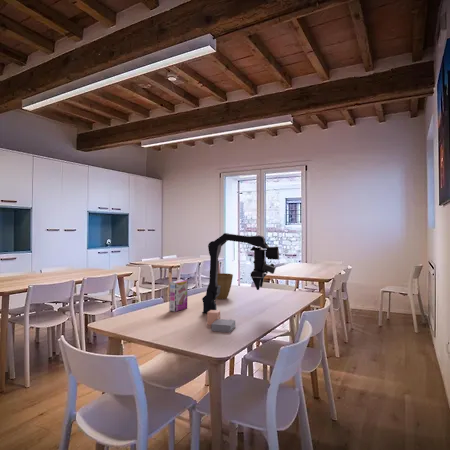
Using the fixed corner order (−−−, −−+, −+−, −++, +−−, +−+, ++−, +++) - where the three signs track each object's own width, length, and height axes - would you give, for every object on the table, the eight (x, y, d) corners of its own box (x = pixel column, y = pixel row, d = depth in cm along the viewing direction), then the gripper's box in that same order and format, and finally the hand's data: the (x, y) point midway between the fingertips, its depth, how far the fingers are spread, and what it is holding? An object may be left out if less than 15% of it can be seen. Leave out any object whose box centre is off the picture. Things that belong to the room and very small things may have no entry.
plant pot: (232, 300, 214) (232, 275, 215) (210, 300, 215) (210, 275, 215) (232, 296, 229) (232, 272, 229) (211, 296, 230) (211, 272, 230)
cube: (207, 324, 161) (207, 312, 161) (210, 321, 166) (210, 309, 166) (217, 325, 159) (217, 312, 160) (220, 322, 164) (220, 310, 164)
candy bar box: (175, 312, 184) (175, 282, 185) (168, 311, 187) (168, 282, 187) (188, 308, 194) (188, 280, 194) (181, 307, 196) (181, 279, 197)
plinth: (211, 330, 151) (211, 324, 151) (217, 325, 159) (217, 318, 160) (230, 332, 148) (230, 325, 148) (235, 326, 157) (235, 320, 157)
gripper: (272, 261, 166) (272, 292, 165) (276, 258, 184) (276, 286, 183) (250, 260, 169) (250, 291, 169) (256, 257, 187) (257, 285, 186)
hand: (259, 288), depth 177 cm, fingers open, 9 cm apart
